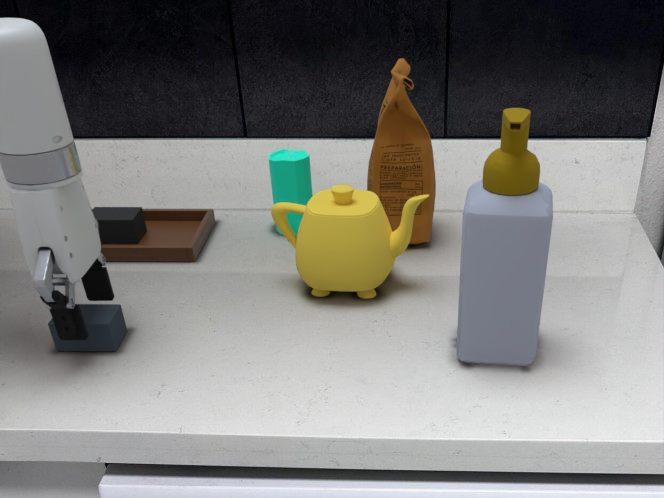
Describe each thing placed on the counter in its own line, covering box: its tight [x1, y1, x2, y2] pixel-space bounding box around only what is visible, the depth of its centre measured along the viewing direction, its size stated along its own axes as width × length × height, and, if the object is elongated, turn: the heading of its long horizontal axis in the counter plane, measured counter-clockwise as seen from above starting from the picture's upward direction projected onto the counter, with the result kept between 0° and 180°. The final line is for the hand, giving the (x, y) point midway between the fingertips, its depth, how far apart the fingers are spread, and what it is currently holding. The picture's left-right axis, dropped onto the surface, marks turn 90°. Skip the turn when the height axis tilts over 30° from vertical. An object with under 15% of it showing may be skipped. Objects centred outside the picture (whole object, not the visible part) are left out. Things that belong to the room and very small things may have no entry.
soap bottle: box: [455, 107, 554, 367], centre depth 84 cm, size 9×9×25 cm
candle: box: [268, 142, 314, 237], centre depth 115 cm, size 6×6×12 cm
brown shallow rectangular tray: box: [91, 208, 216, 263], centre depth 115 cm, size 19×15×2 cm
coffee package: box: [366, 58, 437, 245], centre depth 110 cm, size 10×12×22 cm
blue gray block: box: [47, 303, 128, 352], centre depth 93 cm, size 7×5×4 cm
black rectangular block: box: [92, 206, 147, 244], centre depth 115 cm, size 7×5×4 cm
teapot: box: [270, 183, 429, 300], centre depth 101 cm, size 13×20×12 cm
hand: (88, 318), depth 92 cm, fingers open, 9 cm apart
